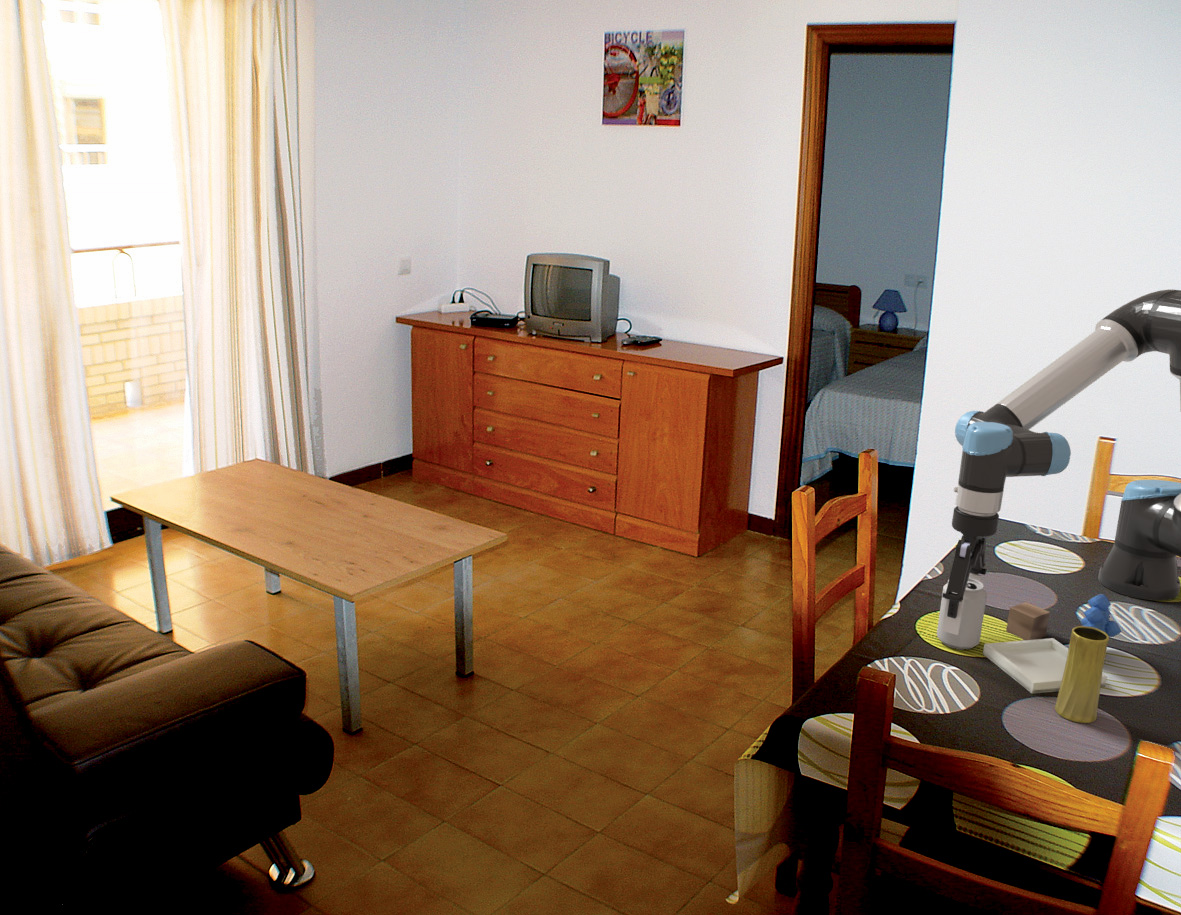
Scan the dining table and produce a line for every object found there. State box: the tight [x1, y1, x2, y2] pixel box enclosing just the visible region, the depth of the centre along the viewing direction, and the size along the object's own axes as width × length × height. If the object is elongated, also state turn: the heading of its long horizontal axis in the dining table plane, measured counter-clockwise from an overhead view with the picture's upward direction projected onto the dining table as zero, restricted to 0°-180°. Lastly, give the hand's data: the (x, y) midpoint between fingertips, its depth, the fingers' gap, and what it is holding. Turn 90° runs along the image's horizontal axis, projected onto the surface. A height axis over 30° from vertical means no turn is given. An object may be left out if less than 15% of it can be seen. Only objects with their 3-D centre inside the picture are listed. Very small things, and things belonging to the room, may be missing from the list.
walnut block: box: [1005, 601, 1051, 641], centre depth 183 cm, size 5×5×5 cm
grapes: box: [1079, 593, 1123, 638], centre depth 174 cm, size 12×7×12 cm, turn 143°
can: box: [936, 578, 988, 650], centre depth 178 cm, size 8×8×12 cm
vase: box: [1054, 625, 1110, 724], centre depth 155 cm, size 6×6×14 cm
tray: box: [982, 637, 1108, 695], centre depth 170 cm, size 14×14×2 cm
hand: (959, 618), depth 178 cm, fingers open, 13 cm apart
